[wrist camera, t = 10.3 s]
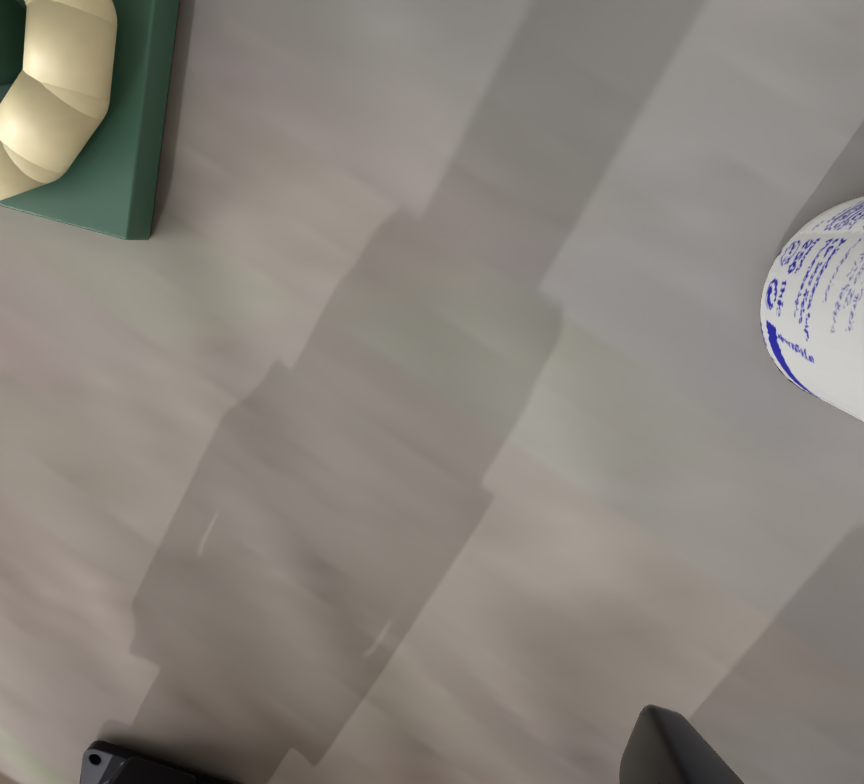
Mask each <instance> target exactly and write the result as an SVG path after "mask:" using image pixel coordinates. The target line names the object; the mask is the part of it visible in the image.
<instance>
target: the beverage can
mask: <svg viewBox="0 0 864 784" xmlns="http://www.w3.org/2000/svg"><path fill="white" fill-rule="evenodd" d="M760 321H761V330H762V334H763V338H764V342H765V345H766V348H767V350H768V352H769V354H770V356H771V358H772V360H773V362H774V363H775V364H776V366H777V367H778V368H779V370H780V371H781V372H782V373H783V374H784V375H785V376H786V377H787V378H788V379H789V380H790V381H791V382H792V383H794V384H795V385H796V386H798V387H799V388H800V389H802V390H803V391H805V392H807V393H809V394H811V395H813V396H815V397H818V398H820V399H822V400H824V401H826V402H827V403H829V404H831V405H833V406H835V407H837V408H839V409H841V410H843V411H845V412H846V413H848V414H850V415H852V416H854V417H856V418H858V419H860V420H862V421H864V196H863V197H859V198H855V199H852V200H849V201H846V202H844V203H841V204H838V205H836V206H834V207H832V208H830V209H828V210H826V211H825V212H823V213H821V214H820V215H818V216H817V217H815V218H814V219H812V220H811V221H810V222H808V223H807V224H806V225H804V226H803V227H802V228H801V229H800V230H799V231H798V232H797V233H796V234H795V235H794V236H793V237H792V238H791V239H790V240H789V241H788V243H787V244H786V245H785V246H784V248H783V249H782V250H781V252H780V253H779V255H778V256H777V258H776V259H775V261H774V263H773V265H772V267H771V269H770V271H769V274H768V276H767V279H766V282H765V285H764V289H763V293H762V298H761V306H760Z"/></svg>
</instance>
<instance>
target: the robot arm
mask: <svg viewBox="0 0 864 784" xmlns="http://www.w3.org/2000/svg"><path fill="white" fill-rule="evenodd" d="M619 779H620V784H744V783H743V782H742V781H741V780H740V778H739V777H738V776H737V775H736V774H735V773H734V772H733V771H732V770H731V768H730V767H729V766H728V765H727V764H726V763H725V762H724V761H723V760H722V759H721V757H720V756H719V755H718V754H717V753H716V752H715V751H714V750H713V749H712V747H711V746H710V745H709V744H708V743H707V742H706V741H705V740H704V739H703V738H702V736H701V735H700V734H699V733H698V732H697V731H696V730H695V729H694V728H693V727H692V725H691V724H690V723H689V722H688V721H687V720H686V719H685V718H684V717H683V716H682V715H681V714H679V713H678V712H675V711H671V710H668V709H665V708H662V707H658V706H655V705H651V704H650V705H647V706H645V707H644V708H643V709H642V711H641V712H640V714H639V717H638V719H637V722H636V724H635V726H634V729H633V731H632V734H631V736H630V739H629V741H628V743H627V746H626V748H625V751H624V753H623V756H622V760H621V765H620V774H619ZM80 784H232V783H229V782H226V781H223V780H220V779H217V778H214V777H211V776H208V775H205V774H202V773H199V772H196V771H193V770H190V769H187V768H183V767H180V766H177V765H174V764H171V763H168V762H165V761H162V760H159V759H156V758H153V757H150V756H147V755H144V754H141V753H138V752H135V751H132V750H129V749H126V748H123V747H119V746H116V745H113V744H110V743H107V742H104V741H99V740H98V741H94V742H93V743H92V744H91V745H90V746H89V747H88V749H87V750H86V751H85V752H84V755H83V761H82V769H81V777H80Z"/></svg>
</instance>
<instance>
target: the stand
mask: <svg viewBox="0 0 864 784" xmlns="http://www.w3.org/2000/svg"><path fill="white" fill-rule="evenodd" d="M112 1H113V4H114V7H115V10H116V15H117V34H116V44H115V54H114V64H113V74H112V83H111V93H110V103H109V108H108V111H107V113H106V115H105V117H104V119H103V120H102V122H101V123H100V124H99V126H98V127H97V129H96V130H95V131H94V133H93V134H92V136H91V137H90V139H89V140H88V141H87V143H86V144H85V146H84V147H83V149H82V150H81V151H80V153H79V154H78V156H77V157H76V158H75V160H74V161H73V163H72V164H71V166H70V167H69V168H68V170H67V171H66V172H65V173H64V174H63V175H62V176H61V177H60V178H59V179H57V180H56V181H53V182H51V183H48V184H45V185H42V186H40V187H37V188H34V189H31V190H28V191H26V192H23V193H20V194H17V195H14V196H11V197H9V198H6V199H3V200H0V206H3V207H7V208H11V209H14V210H18V211H22V212H25V213H29V214H33V215H37V216H40V217H44V218H48V219H51V220H55V221H59V222H62V223H66V224H70V225H73V226H77V227H81V228H84V229H88V230H92V231H96V232H99V233H103V234H107V235H110V236H114V237H118V238H121V239H125V240H149V238H150V231H151V223H152V215H153V207H154V199H155V191H156V183H157V175H158V167H159V159H160V151H161V143H162V135H163V127H164V119H165V111H166V103H167V95H168V87H169V79H170V71H171V63H172V55H173V47H174V39H175V31H176V23H177V15H178V7H179V0H112ZM26 11H27V6H26V3H25V1H24V0H0V103H1V102H2V100H3V99H4V97H5V96H6V94H7V93H8V91H9V89H10V88H11V86H12V85H13V83H14V82H15V80H16V79H17V77H18V75H19V74H20V72H21V71H22V69H23V56H24V41H25V26H26Z"/></svg>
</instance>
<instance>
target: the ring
mask: <svg viewBox="0 0 864 784" xmlns="http://www.w3.org/2000/svg"><path fill="white" fill-rule="evenodd" d="M24 1H25V3H26V6H27V11H26V26H25V41H24V56H23V69H22V71H21V72H20V74H19V75H18V77H17V79H16V80H15V82H14V83H13V85H12V86H11V88H10V89H9V91H8V93H7V94H6V96H5V97H4V99H3V100H2V102H1V103H0V200H3V199H6V198H9V197H11V196H14V195H17V194H20V193H23V192H26V191H28V190H31V189H34V188H37V187H40V186H42V185H45V184H48V183H51V182H53V181H56V180H57V179H59V178H60V177H61V176H62V175H63V174H64V173H65V172H66V171H67V170H68V168H69V167H70V166H71V164H72V163H73V161H74V160H75V158H76V157H77V156H78V154H79V153H80V151H81V150H82V149H83V147H84V146H85V144H86V143H87V141H88V140H89V139H90V137H91V136H92V134H93V133H94V131H95V130H96V129H97V127H98V126H99V124H100V123H101V122H102V120H103V119H104V117H105V115H106V113H107V111H108V108H109V103H110V93H111V83H112V74H113V64H114V54H115V44H116V34H117V15H116V10H115V7H114V4H113V1H112V0H24Z"/></svg>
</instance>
